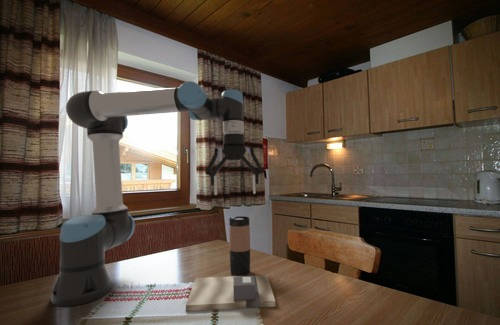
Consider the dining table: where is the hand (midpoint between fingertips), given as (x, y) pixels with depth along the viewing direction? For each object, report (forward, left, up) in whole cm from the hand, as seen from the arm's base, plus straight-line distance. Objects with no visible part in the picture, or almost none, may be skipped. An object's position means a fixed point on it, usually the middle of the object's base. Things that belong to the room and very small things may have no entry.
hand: (235, 194), depth 88 cm
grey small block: (+2, -15, -28) cm, 32 cm away
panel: (-2, -10, -29) cm, 31 cm away
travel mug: (+1, +6, -29) cm, 30 cm away
